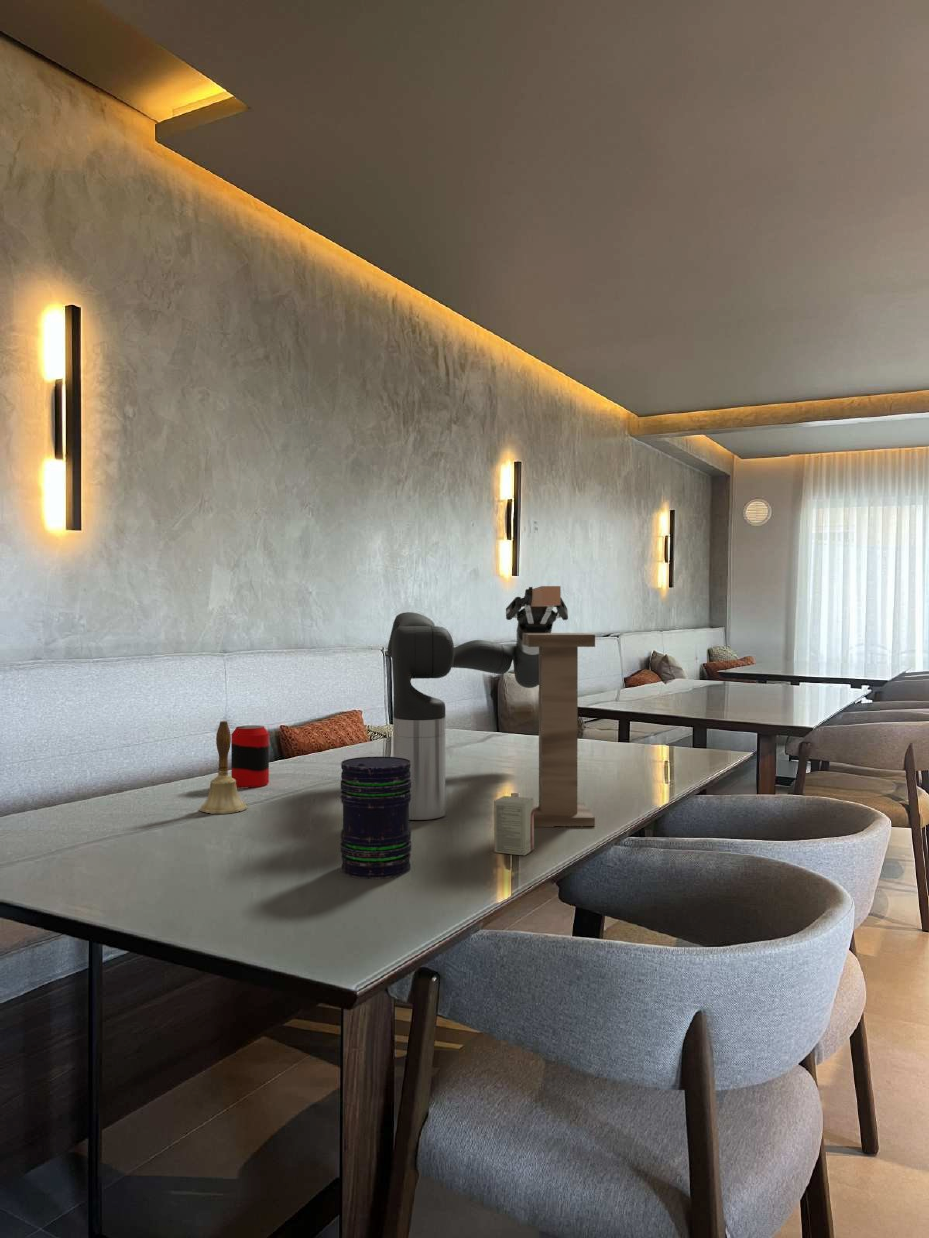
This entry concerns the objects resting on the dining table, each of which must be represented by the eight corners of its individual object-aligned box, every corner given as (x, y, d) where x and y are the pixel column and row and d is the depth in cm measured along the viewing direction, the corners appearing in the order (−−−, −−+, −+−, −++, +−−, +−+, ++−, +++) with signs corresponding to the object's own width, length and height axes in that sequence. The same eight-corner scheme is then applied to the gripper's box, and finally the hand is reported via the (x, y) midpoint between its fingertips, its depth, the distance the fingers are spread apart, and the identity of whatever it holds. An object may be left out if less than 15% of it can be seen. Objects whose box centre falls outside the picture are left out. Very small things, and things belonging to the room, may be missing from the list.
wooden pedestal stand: (594, 826, 157) (595, 634, 156) (528, 826, 156) (529, 634, 156) (582, 808, 171) (583, 632, 170) (522, 809, 170) (522, 632, 170)
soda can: (230, 782, 197) (230, 725, 197) (267, 780, 199) (267, 724, 199) (232, 789, 190) (232, 729, 189) (270, 787, 192) (270, 728, 192)
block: (560, 605, 173) (560, 586, 173) (541, 605, 173) (541, 586, 173) (547, 606, 197) (547, 589, 197) (530, 606, 197) (530, 589, 197)
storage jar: (376, 855, 138) (376, 754, 138) (426, 867, 132) (426, 760, 131) (325, 870, 130) (325, 762, 130) (376, 883, 124) (375, 770, 124)
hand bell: (196, 807, 172) (196, 720, 172) (241, 803, 176) (241, 718, 175) (203, 816, 165) (203, 725, 164) (251, 811, 168) (251, 722, 168)
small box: (535, 849, 141) (535, 797, 141) (525, 856, 138) (525, 802, 137) (503, 846, 144) (503, 794, 143) (493, 852, 140) (493, 799, 139)
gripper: (566, 646, 206) (576, 606, 191) (502, 646, 206) (506, 606, 191) (564, 616, 210) (573, 575, 195) (501, 616, 209) (505, 575, 194)
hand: (540, 590), depth 193 cm, fingers closed on block, 3 cm apart
